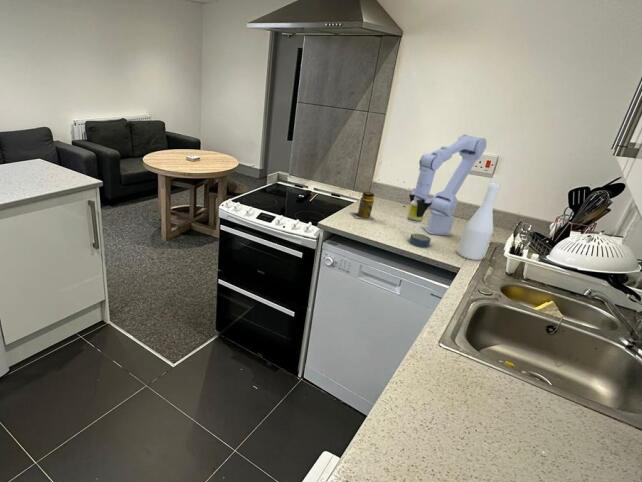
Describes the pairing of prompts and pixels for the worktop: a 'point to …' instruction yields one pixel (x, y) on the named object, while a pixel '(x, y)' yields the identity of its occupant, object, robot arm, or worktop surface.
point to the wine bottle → (479, 228)
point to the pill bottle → (414, 211)
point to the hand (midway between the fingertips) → (416, 213)
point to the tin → (419, 240)
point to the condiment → (365, 206)
